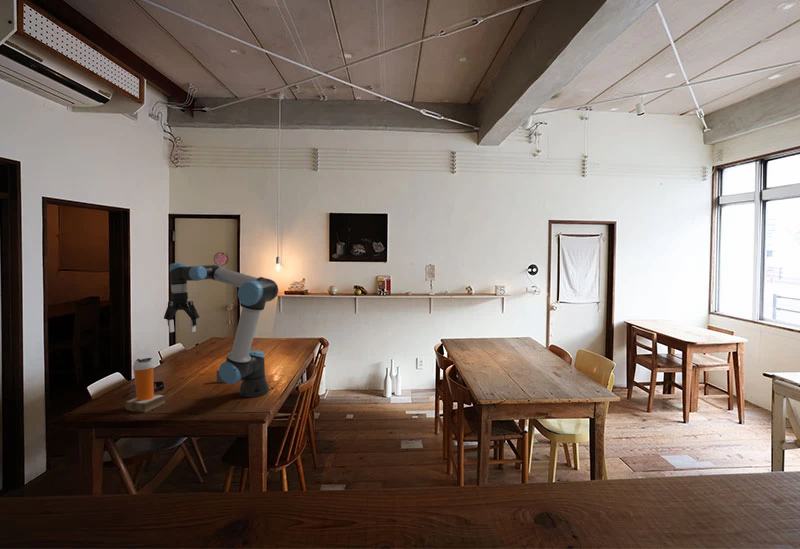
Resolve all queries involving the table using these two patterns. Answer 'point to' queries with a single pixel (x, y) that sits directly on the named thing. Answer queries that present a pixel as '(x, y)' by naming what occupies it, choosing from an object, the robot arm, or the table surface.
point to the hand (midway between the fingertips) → (182, 332)
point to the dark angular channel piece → (219, 377)
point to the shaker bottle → (144, 378)
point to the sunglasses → (159, 386)
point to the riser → (145, 403)
